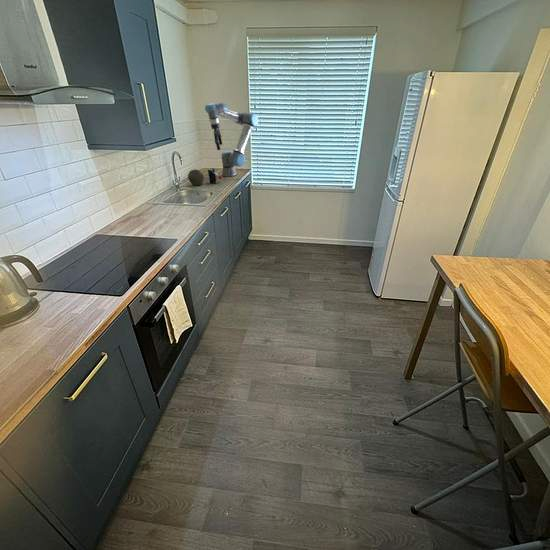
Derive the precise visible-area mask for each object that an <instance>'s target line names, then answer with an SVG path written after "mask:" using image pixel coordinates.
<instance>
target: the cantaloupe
mask: <svg viewBox="0 0 550 550" xmlns="http://www.w3.org/2000/svg"><path fill="white" fill-rule="evenodd" d="M204 177H205V176H204V174H203V173H202V171H200V170H199V169H192V170H190V171H189V172H188V174H187V179H188V181H189V183H190V184H191V185H193V186H194V187H195V186H196V187H198V186H201V185H202V184H203V183H204V179H205V178H204Z"/></svg>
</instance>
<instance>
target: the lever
mask: <svg viewBox="0 0 550 550" xmlns="http://www.w3.org/2000/svg"><path fill="white" fill-rule="evenodd" d="M210 169H211V170H212V169H213V168H210ZM213 174H215V176H216V177H218V179H219V180H222V179H223V176H222V174H218V173H217V172H215V173H214V172H213Z"/></svg>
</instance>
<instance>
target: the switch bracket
mask: <svg viewBox="0 0 550 550" xmlns="http://www.w3.org/2000/svg"><path fill="white" fill-rule="evenodd" d="M211 169H212V170H211ZM207 172H208V181H207V182H205V184H206V185H209V184H210V185H217V184H219V183H220V182H221V180H217V176H216V175H215V174H213V172H214V173H216V170H215V168H210V169H207Z"/></svg>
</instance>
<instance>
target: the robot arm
mask: <svg viewBox="0 0 550 550" xmlns="http://www.w3.org/2000/svg"><path fill="white" fill-rule="evenodd" d="M204 110H205V112H206V113H207V114H208V118H209V120H208V121H209V122H210V127H211V130H213V137H214V144H215V147H216V149H217V151H221V146H223V140H222V134H221V130H220V128H221V127H220V121H219V117H221V118H224V119H227V120H230V121H232V122H233V123H235V124H238V125H240V126H242V130H241V133H240V134H239V138H238V141H237V144H236V147H235V149H233V151H225V152H224V151H223V152H221V163H222V171H221V176H222V177H226V178H227V177H228V178H229V177H230V178H231V177H235V176H237V171H236V168H237V167H242V166H243V165H245V162H246V157H245V151H246V147H247V144H248V141H249V139H250V136H251V132H252V131H254V128H255V127H256V126H257V125H258V124H259V118H258V115H257V114H256V113H255V112H238V111H232V110H230V109H228V108H227V105H226V103H225V102H219V103H207V104H206V105H205V106H204ZM235 167H236V168H235Z"/></svg>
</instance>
